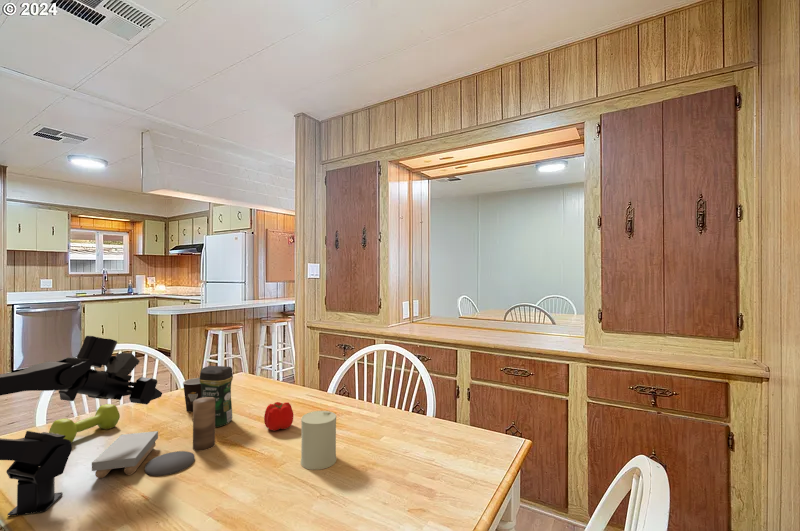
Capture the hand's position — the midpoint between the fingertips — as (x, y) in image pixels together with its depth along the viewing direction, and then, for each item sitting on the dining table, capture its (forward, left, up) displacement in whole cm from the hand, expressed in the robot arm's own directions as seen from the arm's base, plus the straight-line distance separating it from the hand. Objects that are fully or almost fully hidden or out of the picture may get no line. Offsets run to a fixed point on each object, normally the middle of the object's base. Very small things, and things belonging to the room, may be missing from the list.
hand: (148, 393), depth 107 cm
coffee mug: (+31, -7, -16) cm, 35 cm away
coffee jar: (+16, -15, -16) cm, 27 cm away
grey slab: (-6, +2, -16) cm, 17 cm away
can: (-18, -46, -16) cm, 52 cm away
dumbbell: (+16, +21, -16) cm, 31 cm away
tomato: (+7, -35, -16) cm, 39 cm away
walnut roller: (-1, -15, -16) cm, 22 cm away
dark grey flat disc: (-10, -9, -16) cm, 21 cm away
